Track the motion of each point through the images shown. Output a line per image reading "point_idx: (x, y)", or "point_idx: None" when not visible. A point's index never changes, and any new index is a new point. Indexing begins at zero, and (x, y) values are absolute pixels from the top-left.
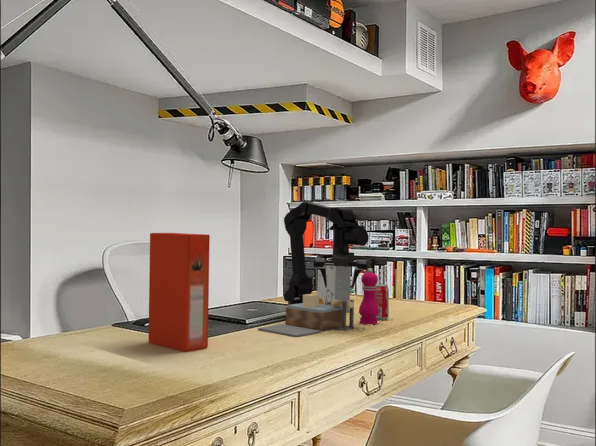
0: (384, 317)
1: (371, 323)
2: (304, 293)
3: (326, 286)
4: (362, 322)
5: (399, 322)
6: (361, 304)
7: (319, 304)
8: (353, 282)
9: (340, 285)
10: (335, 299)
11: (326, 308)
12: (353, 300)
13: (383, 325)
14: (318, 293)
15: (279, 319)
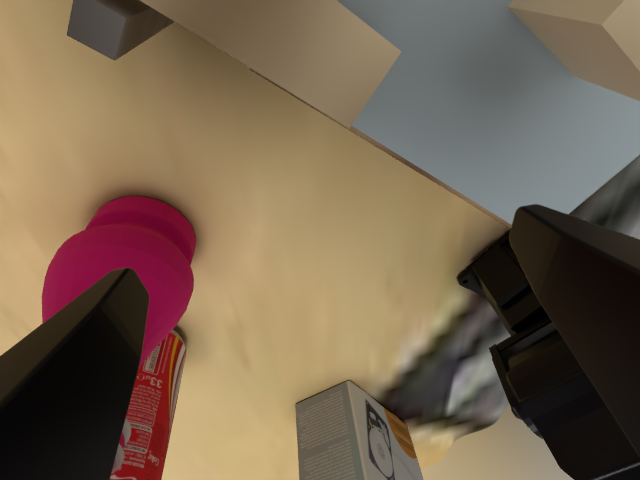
0: None
1: (109, 203)
2: (563, 342)
3: (533, 211)
4: (168, 209)
5: (13, 304)
6: (155, 294)
7: (473, 166)
8: (48, 341)
9: None
10: (347, 121)
11: None
12: (70, 19)
13: (37, 202)
14: (418, 473)
15: (608, 190)
